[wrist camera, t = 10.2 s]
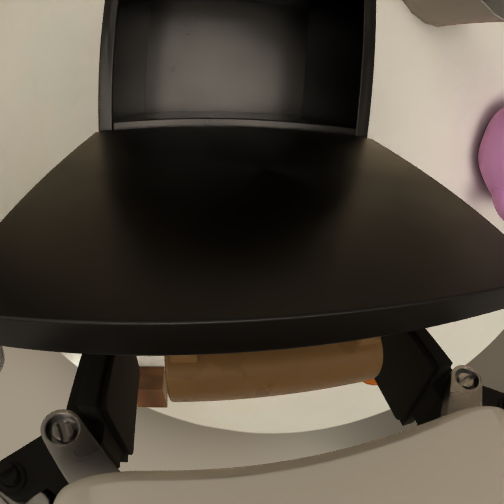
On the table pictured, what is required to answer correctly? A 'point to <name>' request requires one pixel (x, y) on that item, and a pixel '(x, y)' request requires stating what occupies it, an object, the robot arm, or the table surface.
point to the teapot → (494, 160)
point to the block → (152, 387)
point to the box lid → (241, 257)
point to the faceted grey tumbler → (457, 11)
